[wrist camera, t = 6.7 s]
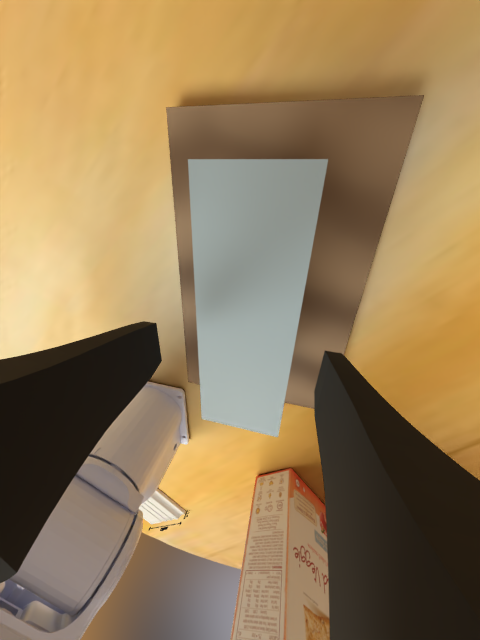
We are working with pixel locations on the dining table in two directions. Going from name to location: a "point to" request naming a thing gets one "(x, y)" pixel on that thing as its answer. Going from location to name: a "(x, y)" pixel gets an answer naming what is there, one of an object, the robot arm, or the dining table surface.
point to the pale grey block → (250, 280)
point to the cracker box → (284, 564)
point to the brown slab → (334, 213)
